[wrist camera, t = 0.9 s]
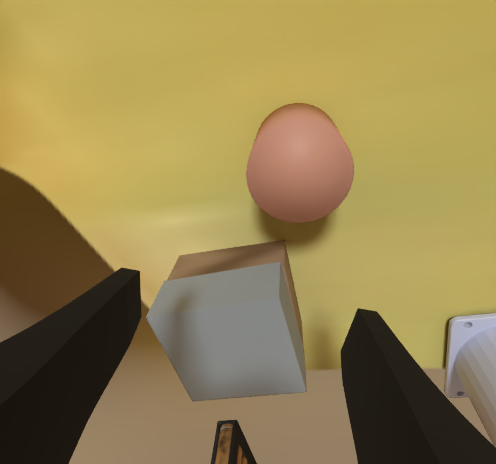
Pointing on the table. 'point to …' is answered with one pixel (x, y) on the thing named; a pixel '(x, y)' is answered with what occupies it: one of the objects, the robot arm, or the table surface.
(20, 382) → the robot arm
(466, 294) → the table surface
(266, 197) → the pink cylinder
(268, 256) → the tower base
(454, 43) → the table surface
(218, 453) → the ammunition clip
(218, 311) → the tower top
